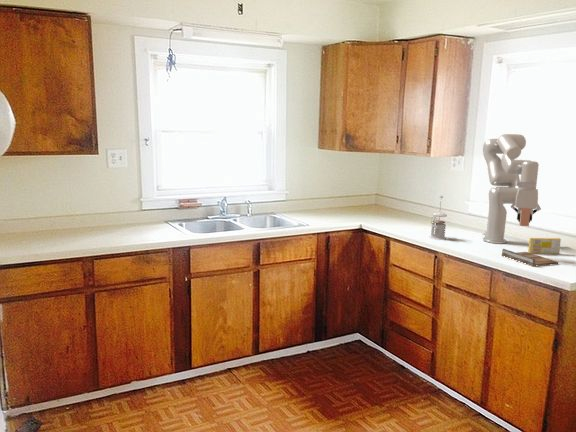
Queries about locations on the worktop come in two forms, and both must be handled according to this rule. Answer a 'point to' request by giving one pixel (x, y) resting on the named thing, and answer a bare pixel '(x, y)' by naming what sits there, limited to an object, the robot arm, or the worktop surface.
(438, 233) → the french press
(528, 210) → the tea box
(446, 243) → the worktop surface
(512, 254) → the rail
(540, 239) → the candy box
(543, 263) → the shelf board
